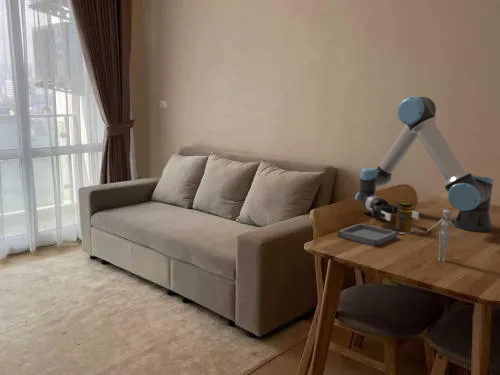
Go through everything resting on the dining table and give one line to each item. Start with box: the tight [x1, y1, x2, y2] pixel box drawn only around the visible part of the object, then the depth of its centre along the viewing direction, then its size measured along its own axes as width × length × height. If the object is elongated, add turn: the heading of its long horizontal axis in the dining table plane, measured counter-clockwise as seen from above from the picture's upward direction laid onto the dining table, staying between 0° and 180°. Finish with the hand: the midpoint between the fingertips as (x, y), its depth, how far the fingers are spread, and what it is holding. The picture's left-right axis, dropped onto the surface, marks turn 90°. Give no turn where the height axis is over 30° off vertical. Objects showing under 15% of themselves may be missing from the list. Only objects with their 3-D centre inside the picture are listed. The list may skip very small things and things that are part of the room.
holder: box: [337, 223, 398, 247], centre depth 196 cm, size 17×17×2 cm
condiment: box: [388, 201, 415, 235], centre depth 206 cm, size 7×8×12 cm
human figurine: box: [427, 209, 464, 262], centre depth 170 cm, size 12×4×18 cm, turn 64°
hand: (404, 217), depth 205 cm, fingers open, 13 cm apart
